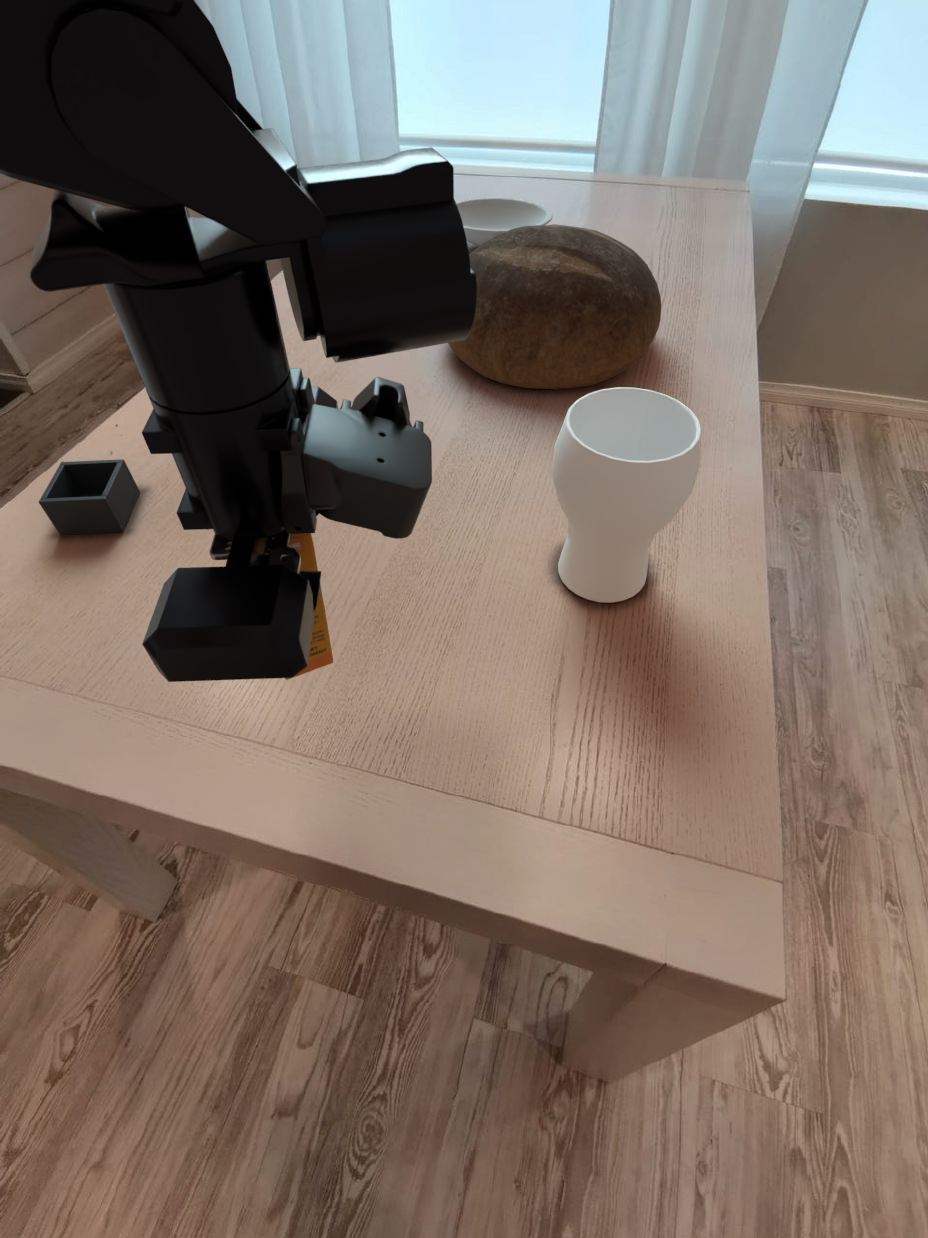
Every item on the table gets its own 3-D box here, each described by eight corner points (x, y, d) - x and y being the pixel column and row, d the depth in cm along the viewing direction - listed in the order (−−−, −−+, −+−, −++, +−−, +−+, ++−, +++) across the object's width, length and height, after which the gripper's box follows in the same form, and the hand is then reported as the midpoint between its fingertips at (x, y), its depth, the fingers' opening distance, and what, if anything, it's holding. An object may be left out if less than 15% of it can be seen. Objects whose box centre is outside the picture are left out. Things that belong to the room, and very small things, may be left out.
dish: (554, 234, 108) (557, 199, 104) (544, 269, 99) (547, 233, 95) (450, 228, 110) (449, 194, 107) (431, 262, 101) (429, 227, 97)
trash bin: (123, 531, 62) (105, 498, 59) (59, 535, 62) (38, 502, 59) (140, 491, 66) (123, 458, 63) (80, 494, 66) (61, 461, 63)
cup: (517, 576, 57) (527, 428, 46) (585, 515, 62) (609, 368, 51) (621, 637, 53) (661, 489, 41) (685, 565, 58) (736, 416, 46)
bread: (608, 421, 73) (629, 301, 62) (405, 364, 81) (396, 251, 71) (679, 324, 87) (705, 214, 77) (500, 284, 96) (503, 181, 86)
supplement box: (285, 685, 38) (246, 547, 32) (269, 649, 41) (229, 513, 34) (338, 666, 40) (311, 528, 33) (320, 632, 42) (291, 497, 35)
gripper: (414, 521, 21) (432, 759, 33) (417, 277, 33) (430, 515, 45) (60, 531, 20) (208, 767, 32) (195, 281, 33) (267, 519, 44)
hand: (294, 622), depth 38 cm, fingers closed on supplement box, 4 cm apart
